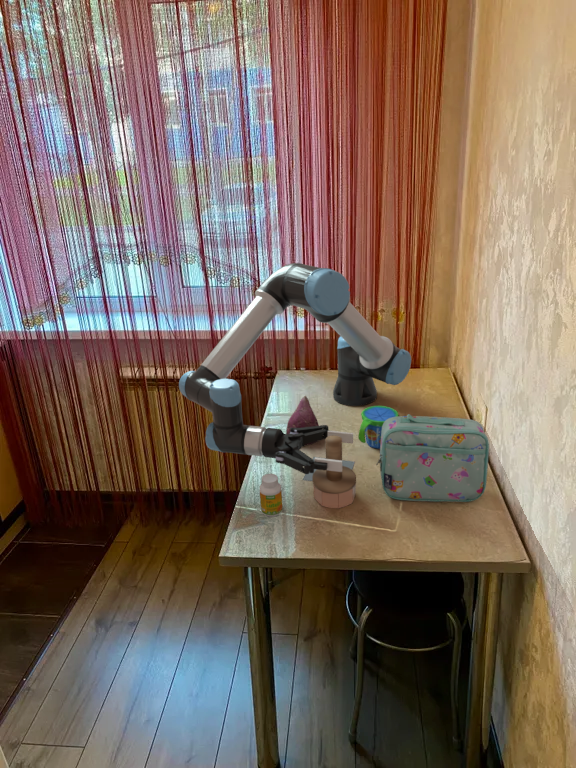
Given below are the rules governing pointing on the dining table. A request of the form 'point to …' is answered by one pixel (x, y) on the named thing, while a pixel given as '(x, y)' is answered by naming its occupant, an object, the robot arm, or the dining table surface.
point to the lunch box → (433, 458)
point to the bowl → (335, 498)
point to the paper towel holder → (333, 479)
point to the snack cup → (374, 424)
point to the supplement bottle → (270, 495)
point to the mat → (344, 463)
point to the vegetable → (302, 417)
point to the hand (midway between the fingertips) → (347, 451)
